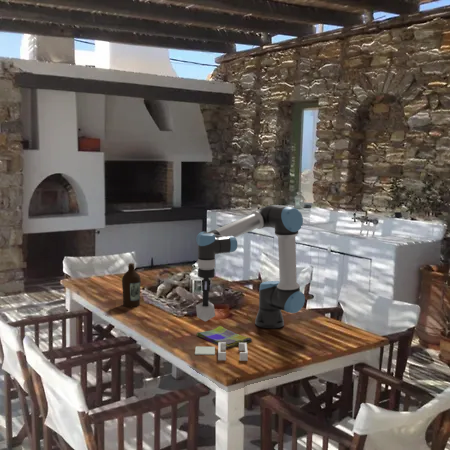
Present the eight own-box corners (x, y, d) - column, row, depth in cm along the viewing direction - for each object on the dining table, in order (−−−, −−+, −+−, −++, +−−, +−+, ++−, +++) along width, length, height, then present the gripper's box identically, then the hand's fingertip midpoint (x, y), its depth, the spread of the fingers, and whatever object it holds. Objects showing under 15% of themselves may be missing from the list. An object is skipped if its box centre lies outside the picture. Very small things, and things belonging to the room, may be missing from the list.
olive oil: (118, 305, 329) (118, 263, 326) (133, 302, 337) (133, 261, 333) (129, 309, 322) (128, 266, 318) (144, 306, 329) (144, 264, 326)
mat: (215, 348, 264) (215, 346, 264) (214, 355, 255) (214, 353, 255) (195, 347, 264) (195, 346, 264) (194, 354, 255) (194, 353, 255)
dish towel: (221, 329, 292) (222, 324, 292) (254, 342, 273) (254, 337, 273) (194, 336, 281) (194, 331, 280) (226, 350, 262) (226, 344, 262)
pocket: (246, 350, 262) (246, 342, 261) (247, 360, 249) (247, 353, 249) (218, 349, 262) (218, 342, 261) (218, 360, 249) (218, 352, 248)
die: (217, 319, 258) (217, 298, 257) (211, 325, 250) (212, 303, 248) (199, 317, 260) (199, 296, 259) (193, 323, 252) (193, 301, 251)
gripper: (198, 263, 262) (198, 312, 266) (197, 272, 245) (196, 324, 248) (214, 264, 262) (214, 312, 266) (214, 272, 245) (213, 324, 248)
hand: (205, 318), depth 257 cm, fingers closed on die, 4 cm apart
